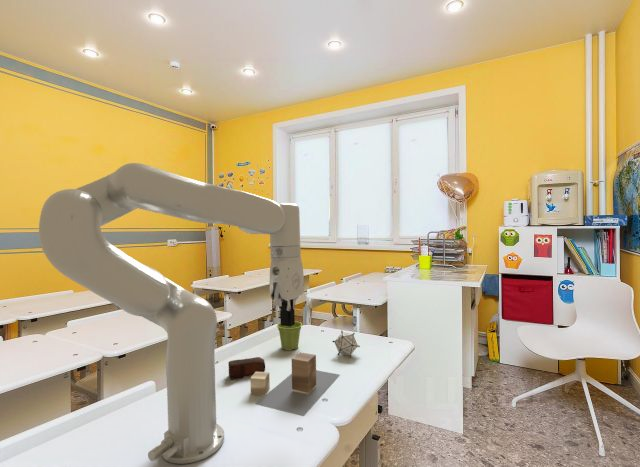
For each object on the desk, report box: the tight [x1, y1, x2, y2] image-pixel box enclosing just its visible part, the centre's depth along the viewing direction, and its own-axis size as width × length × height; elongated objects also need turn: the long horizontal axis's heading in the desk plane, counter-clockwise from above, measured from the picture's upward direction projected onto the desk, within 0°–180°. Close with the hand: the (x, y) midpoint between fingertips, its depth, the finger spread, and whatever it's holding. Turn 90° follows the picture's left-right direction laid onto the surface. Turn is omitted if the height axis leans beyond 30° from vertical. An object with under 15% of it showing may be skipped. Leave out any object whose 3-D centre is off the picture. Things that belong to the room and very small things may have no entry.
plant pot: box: [276, 321, 303, 351], centre depth 128 cm, size 9×9×9 cm
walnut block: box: [291, 352, 317, 395], centre depth 95 cm, size 5×5×9 cm
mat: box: [255, 369, 341, 417], centre depth 96 cm, size 24×14×1 cm, turn 155°
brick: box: [227, 356, 266, 381], centre depth 106 cm, size 11×4×5 cm, turn 111°
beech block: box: [249, 371, 271, 397], centre depth 94 cm, size 4×4×5 cm
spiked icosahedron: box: [332, 330, 361, 358], centre depth 120 cm, size 9×8×10 cm
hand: (287, 324), depth 87 cm, fingers closed
